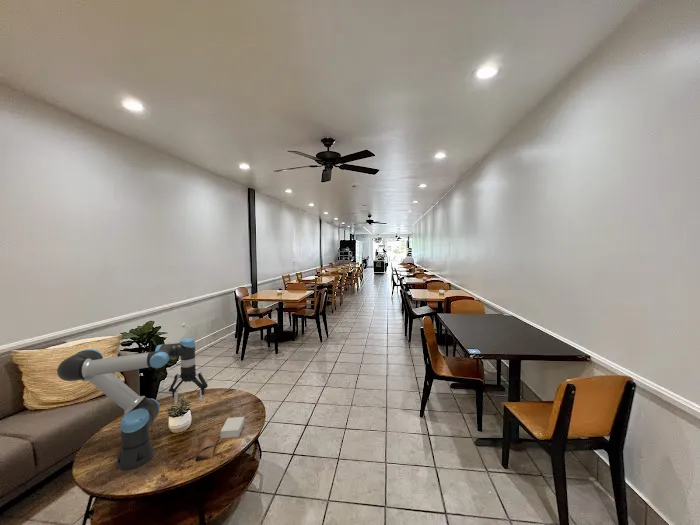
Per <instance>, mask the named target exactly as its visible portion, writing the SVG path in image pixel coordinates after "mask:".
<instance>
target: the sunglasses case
mask: <svg viewBox="0 0 700 525" xmlns="http://www.w3.org/2000/svg"><path fill="white" fill-rule="evenodd" d="M219 440H220V438H218V437H212V436H208V435H207V434H206V435H204V437H203V439H202V441H201V443H200V444H199V445H200V446H199V448H198V450H197V454H196V457H195V461H196V463H198V462H202V461H208V460H211V459H213V458H214V454H215V450H216V447H217V444H218V442H219Z"/></svg>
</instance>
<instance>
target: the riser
mask: <svg viewBox="0 0 700 525" xmlns="http://www.w3.org/2000/svg"><path fill="white" fill-rule="evenodd" d="M245 418H246V417H245V416H239V417H238V416H236V417H227V419H226V421H225V422H224V424H223V426H222V428H221V429H220V439H229V438H230V439H231V438H239V437H240V435H241V433H242V430H243V427H244V425H245V422H246V421H245Z"/></svg>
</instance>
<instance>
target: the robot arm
mask: <svg viewBox="0 0 700 525" xmlns="http://www.w3.org/2000/svg"><path fill="white" fill-rule="evenodd" d="M154 349H155V350H154V351H149V352H148V351H147V352H141V353H137V354H136V353H135V354H128V355H121V356H120V355H119V356H113V357H105V358H104V356H103V354H102V353H101V352H100V350H97V349H94V348H89V349H88V348H87V349H83V350H81V351H78V352H77V353H75V354H72V355H71V356H69V357H68V358H66V359H63V361H61V362H60V364H59V365H58V366H57V370H56V373H57V377H58V378H59V379H61V380H62V381H65V382H75V381H82V382H90V383H91V384H92V385H94V387H96V388H97V389H98V390H99V391H101V392H102V393H103V394H104V395H105V396H107V397H108V398H109V399H110V400H112V401H113V402H114V403H115V404H116V405H117V406H119V407H120V408H121V409H123V411H124V414H123V415H124V416H122V418H121V421H120V426H119V428H120V445H121V446H120V452H119V454H118V457H117V459H116V467H117V469H118V470H124V471H127V470H131V469H135V468H137V467H140V466H142V465H144V464H146V463H148V462H149V461H150V460H151V459H152V457H154V452H155V451H154V447H153V445H152V442H151V440H150V428H151V425H152V424H153V423H154V421H155V420H156V419H157V417H158V415H159V412H160V408H161V407H160V406H161V405H160V403H159V402H158V400H156V399H155V398H148V397H147V396H145V395H139V394H137V392H135V391H134V390H133V389H132V388H131V387H130V386H128V385H127V384H126V383H125V382H124V381H122V380H121V379H120V378H119V377H118V376H117V375H115V373H120V372H128V371H133V370H140V369H146V368H154V369H160V368H162V367H164V366H166V364H168V362H169V361H170V360H171V358H177V357H180V374H179V373H176V374H175V375H174V379H173V381H172V383H171V385H170V387H169V389H168V392H169V393H171V394H172V398H173V401H174V405H176V404H177V403H178V400H179V399H178V396H179V395H178V392H179V391H178V390H177V389H178V388H180V386H181V385H182V384H183V383H188V382H189V383H190V382H192V383H194V384H195V385H196V386H197V387H198V388H199V402H202V401H203V399H204V397H203V396H204V395H205V389H207V388H208V387H209V385H208V382H207V381H206V380H205V378H204V377H203V373H202V371H199V372H196V370H197V369H196V340H195V339H194V338H193V337H186V338H182V339H180V340H179V342H178V343H177V342H176V343H166V344H165V343H163V344H158V345H157V346H156V347H155V348H154ZM196 376H197V377H196ZM179 378H180V379H181V380H180V381H179V382H178V380H179ZM197 378H198V379H197ZM177 382H178V383H177ZM176 383H177V385H176ZM175 385H176V386H175Z"/></svg>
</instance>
